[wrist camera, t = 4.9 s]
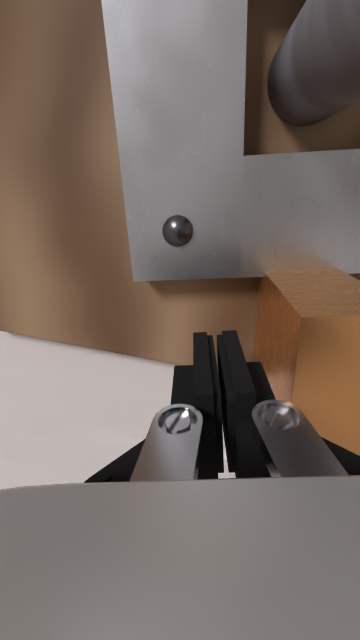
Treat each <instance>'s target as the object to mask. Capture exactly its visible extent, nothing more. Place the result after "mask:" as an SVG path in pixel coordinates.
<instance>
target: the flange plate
mask: <svg viewBox="0 0 360 640" xmlns="http://www.w3.org/2000/svg"><path fill="white" fill-rule="evenodd" d="M101 2H102V11H103V19H104V28H105V37H106V46H107V54H108V63H109V72H110V81H111V89H112V98H113V107H114V116H115V124H116V133H117V142H118V151H119V160H120V168H121V177H122V186H123V195H124V203H125V212H126V221H127V230H128V238H129V247H130V256H131V265H132V273H133V281H161V280H188V279H216V278H243V277H259V279H258V298H257V317H256V337H255V356H254V362H258V361H260V362H261V364H262V366H263V368H264V371H265V373H266V376H267V378H268V381H269V383H270V386H271V388H272V391H273V393H274V396H275V398H276V400H282V401H286V402H289V403H291V404H293V405H295V406H296V407H298V408H299V409H300V410H301V411H302V412H303V413H304V415H305V416H306V417H307V419H308V420H309V422H310V423H311V424H312V426H313V427H314V428H315V430H316V431H317V432H318V434H319V435H320V436H321V437H323V438H325V439H327V440H329V441H331V442H333V443H335V444H337V445H339V446H341V447H343V448H345V449H347V450H349V451H351V452H353V453H355V454H357V455H359V456H360V280H358V279H356V278H354V277H353V276H351V275H349V274H353V273H360V149H347V150H330V151H314V152H298V153H281V154H265V155H248V156H243V151H244V115H245V78H246V41H247V4H248V0H101Z"/></svg>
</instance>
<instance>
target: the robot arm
mask: <svg viewBox="0 0 360 640" xmlns="http://www.w3.org/2000/svg"><path fill="white" fill-rule="evenodd" d="M217 360H218V370H217V363H216V355H215V348H214V341H213V335H207V332H194V333H193V365H181V366H175V367H174V377H173V387H172V397H171V405H169V406H167V407H165V408H163V409H161V410H160V411H159V412H157V413H156V415H155V417H154V418H153V421H152V424H151V426H150V429H149V431H148V434H147V437H146V439H144V440H143V441H142V442H140V443H139V444H137V445H136V446H134V447H133V448H131V449H130V450H129V451H127V452H126V453H124V454H123V455H121V456H120V457H119V458H117V459H116V460H114V461H113V462H111V463H110V464H108V465H107V466H106V467H104V468H103V469H101V470H100V471H98V472H97V473H96V474H94V475H93V476H91V477H90V478H89V479H87V480H86V481H85V482H84V483H71V484H54V485H39V486H24V487H16V488H9V489H2V490H0V640H360V456H359V455H357V454H355V453H353V452H351V451H349V450H347V449H345V448H343V447H341V446H339V445H337V444H335V443H333V442H331V441H329V440H327V439H325V438H323V437H321V436H320V435H319V434H318V432H317V431H316V430H315V428H314V427H313V426H312V424H311V423H310V422H309V420H308V419H307V417H306V416H305V415H304V413H303V412H302V411H301V410H300V409H299V408H298V407H296V406H295V405H293V404H291V403H289V402H286V401H282V400H276V398H275V396H274V393H273V391H272V388H271V386H270V383H269V381H268V378H267V376H266V373H265V371H264V368H263V366H262V364H261V362H260V361H258V362H246V360H245V356H244V353H243V350H242V347H241V344H240V341H239V337H238V334H237V331H236V330H228V331H222V335H217ZM222 424H223V432H224V440H225V447H226V455H227V462H228V470H229V472H235V475H236V478H225V479H218V473H224V461H223V434H222Z"/></svg>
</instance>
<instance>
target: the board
mask: <svg viewBox="0 0 360 640" xmlns="http://www.w3.org/2000/svg"><path fill="white" fill-rule="evenodd" d="M347 149H360V0H248V4H247V41H246V78H245V115H244V151H243V156H248V155H265V154H281V153H298V152H314V151H330V150H347ZM349 275H351V276H353V277H354V278H356V279H358V280H360V273H353V274H349ZM258 279H259V277H243V278H216V279H188V280H161V281H133V273H132V265H131V256H130V247H129V238H128V230H127V221H126V212H125V203H124V195H123V186H122V177H121V168H120V160H119V151H118V142H117V133H116V124H115V116H114V107H113V98H112V89H111V81H110V72H109V63H108V54H107V46H106V37H105V28H104V19H103V11H102V2H101V0H0V331H5V332H10V333H15V334H21V335H26V336H31V337H37V338H42V339H47V340H52V341H58V342H63V343H68V344H73V345H79V346H84V347H89V348H95V349H100V350H105V351H110V352H116V353H121V354H126V355H132V356H137V357H142V358H147V359H153V360H158V361H163V362H169V363H174V364H179V365H193V333H194V332H207V335H213V341H214V348H215V355H216V363H217V370H218V360H217V335H222V331H228V330H236V331H237V334H238V337H239V341H240V344H241V347H242V350H243V353H244V356H245V360H246V362H254V356H255V337H256V317H257V298H258Z"/></svg>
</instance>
